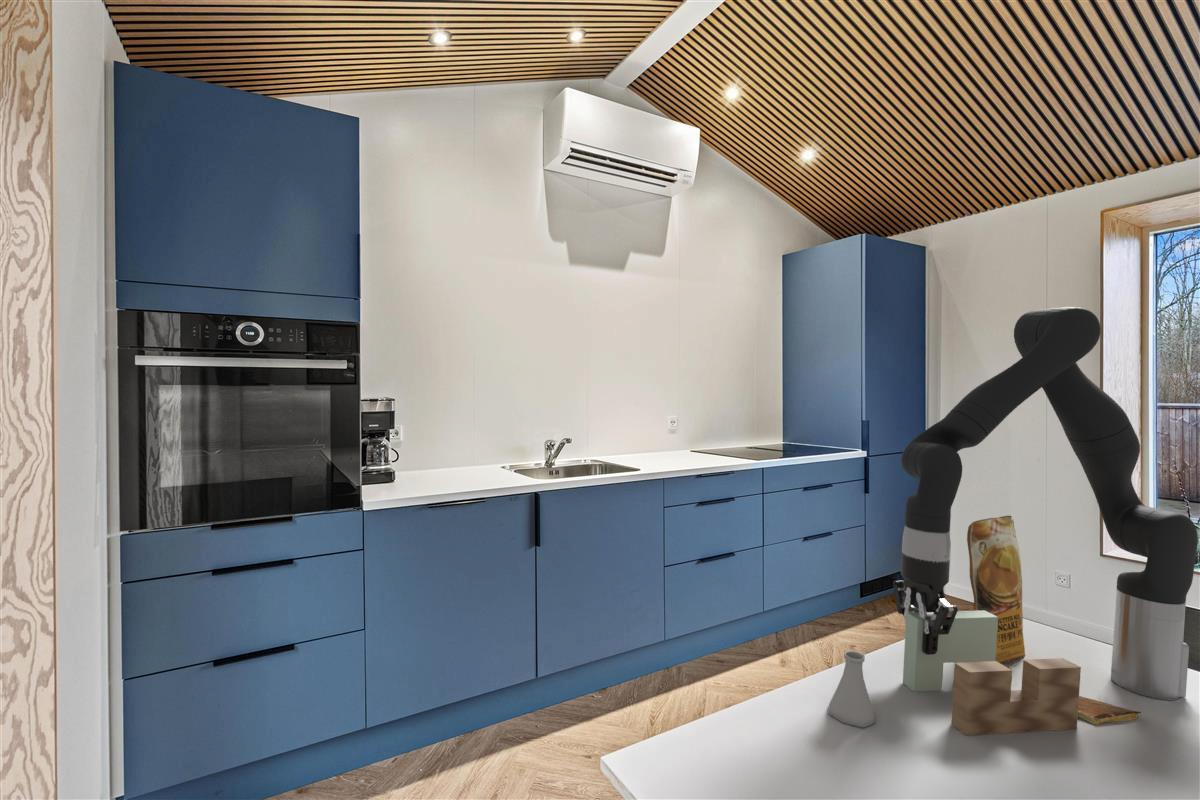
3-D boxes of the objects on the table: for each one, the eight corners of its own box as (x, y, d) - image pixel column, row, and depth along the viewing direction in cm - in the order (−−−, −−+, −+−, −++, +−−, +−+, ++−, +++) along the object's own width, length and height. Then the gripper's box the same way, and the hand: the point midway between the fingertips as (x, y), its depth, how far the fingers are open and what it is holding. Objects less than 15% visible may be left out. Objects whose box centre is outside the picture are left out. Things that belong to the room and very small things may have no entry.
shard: (1141, 720, 96) (1141, 710, 96) (1151, 744, 89) (1152, 732, 89) (1058, 698, 102) (1058, 688, 102) (1062, 718, 96) (1063, 708, 95)
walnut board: (1059, 717, 95) (1063, 658, 95) (1076, 728, 92) (1080, 667, 92) (951, 724, 92) (954, 662, 92) (965, 735, 89) (969, 672, 89)
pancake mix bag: (946, 655, 116) (954, 518, 115) (1003, 640, 124) (1011, 512, 123) (981, 671, 110) (989, 526, 109) (1038, 654, 118) (1046, 519, 117)
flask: (881, 715, 94) (885, 655, 93) (866, 734, 88) (870, 670, 88) (837, 697, 99) (840, 640, 98) (820, 714, 93) (823, 654, 93)
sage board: (980, 679, 107) (984, 610, 106) (993, 687, 104) (998, 617, 103) (902, 682, 104) (906, 612, 104) (914, 691, 101) (918, 619, 101)
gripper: (975, 565, 96) (970, 666, 97) (916, 541, 110) (912, 630, 111) (935, 566, 95) (930, 668, 95) (881, 542, 109) (876, 631, 109)
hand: (920, 647), depth 103 cm, fingers open, 3 cm apart
